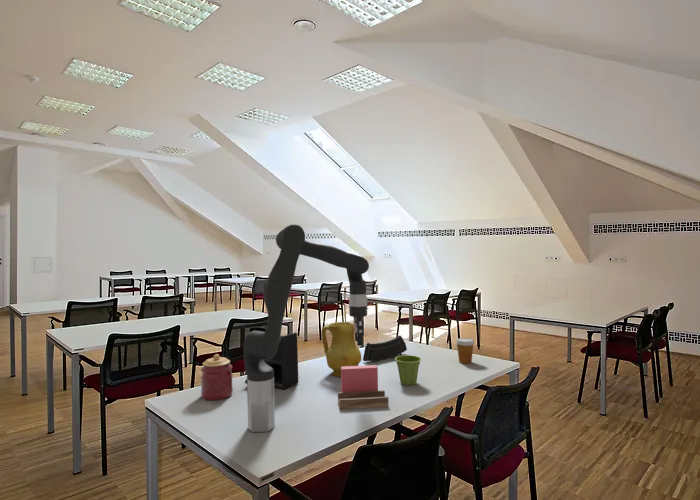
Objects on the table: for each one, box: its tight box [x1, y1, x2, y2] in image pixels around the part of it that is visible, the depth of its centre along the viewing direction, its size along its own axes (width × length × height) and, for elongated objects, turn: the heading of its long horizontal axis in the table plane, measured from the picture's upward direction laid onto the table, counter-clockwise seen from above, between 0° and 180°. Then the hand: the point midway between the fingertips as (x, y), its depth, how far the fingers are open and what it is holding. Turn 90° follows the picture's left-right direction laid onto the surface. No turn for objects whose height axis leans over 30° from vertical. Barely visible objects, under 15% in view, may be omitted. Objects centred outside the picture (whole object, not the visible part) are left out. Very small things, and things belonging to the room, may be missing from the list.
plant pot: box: [394, 354, 422, 386], centre depth 201 cm, size 12×12×11 cm
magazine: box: [362, 334, 408, 362], centre depth 244 cm, size 17×3×30 cm
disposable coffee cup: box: [455, 337, 475, 365], centre depth 234 cm, size 10×10×12 cm
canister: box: [200, 353, 234, 401], centre depth 188 cm, size 13×13×18 cm
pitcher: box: [321, 321, 362, 378], centre depth 219 cm, size 17×19×25 cm
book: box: [340, 364, 379, 392], centre depth 185 cm, size 4×15×12 cm, turn 96°
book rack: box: [337, 389, 389, 410], centre depth 175 cm, size 9×19×4 cm, turn 96°
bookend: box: [244, 332, 299, 390], centre depth 204 cm, size 23×11×24 cm, turn 60°
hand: (358, 343), depth 185 cm, fingers open, 8 cm apart
